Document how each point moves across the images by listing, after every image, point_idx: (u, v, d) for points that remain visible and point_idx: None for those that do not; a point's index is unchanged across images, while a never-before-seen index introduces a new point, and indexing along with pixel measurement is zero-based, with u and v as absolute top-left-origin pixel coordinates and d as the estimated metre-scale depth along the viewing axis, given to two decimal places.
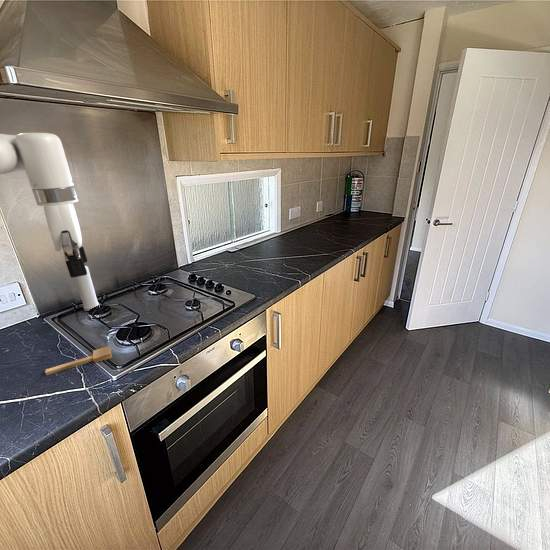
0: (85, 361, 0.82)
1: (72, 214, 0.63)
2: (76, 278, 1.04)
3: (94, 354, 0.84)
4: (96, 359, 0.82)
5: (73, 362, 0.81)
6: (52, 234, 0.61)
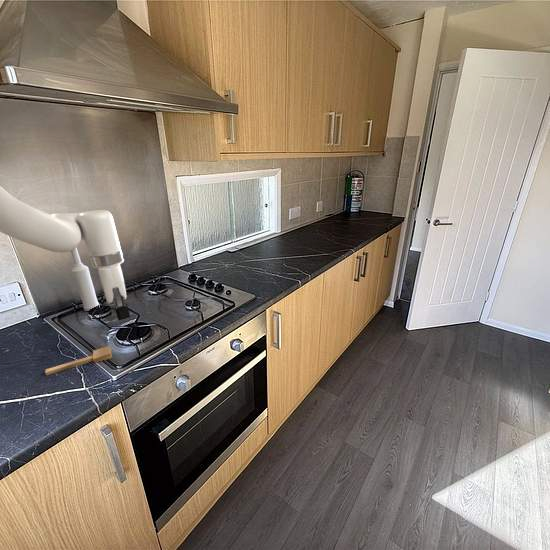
0: (85, 361, 0.82)
1: (120, 273, 0.77)
2: (76, 278, 1.04)
3: (94, 354, 0.84)
4: (96, 359, 0.82)
5: (73, 362, 0.81)
6: (105, 291, 0.75)
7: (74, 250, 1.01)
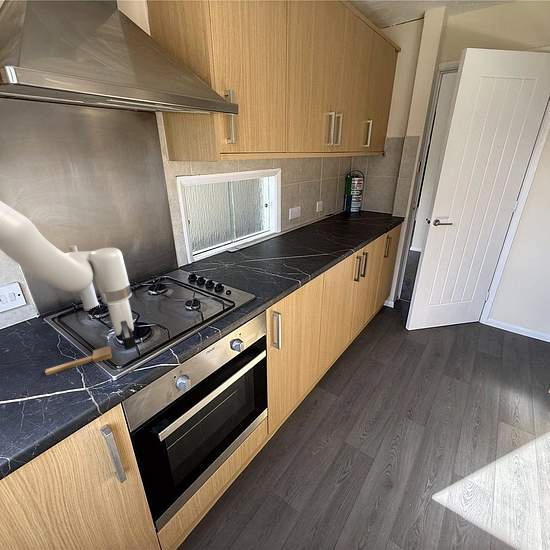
0: (85, 361, 0.82)
1: (128, 307, 0.81)
2: None
3: (94, 354, 0.84)
4: (96, 359, 0.82)
5: (73, 362, 0.81)
6: (114, 324, 0.79)
7: (74, 250, 1.01)
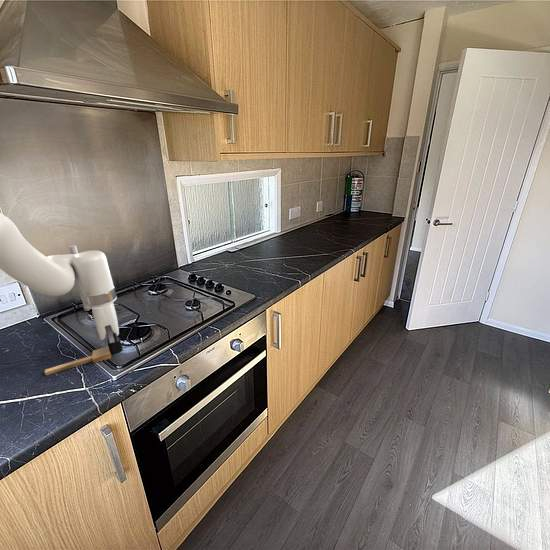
0: (84, 361, 0.82)
1: (113, 311, 0.79)
2: None
3: (93, 354, 0.83)
4: (95, 359, 0.82)
5: (72, 362, 0.81)
6: (98, 329, 0.77)
7: (74, 250, 1.01)
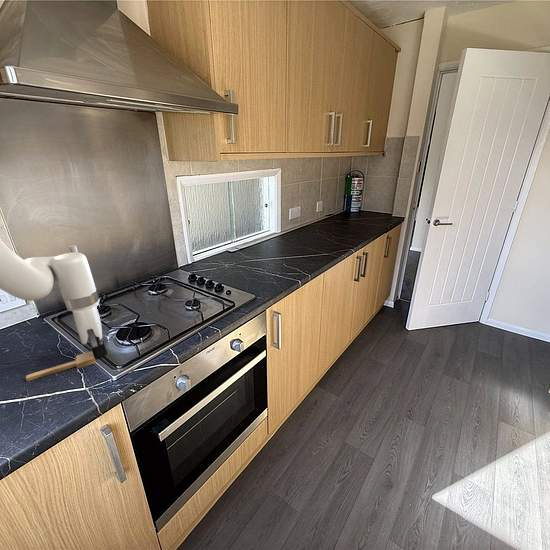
0: (68, 366, 0.80)
1: (95, 314, 0.77)
2: None
3: (77, 359, 0.82)
4: (79, 364, 0.80)
5: (55, 367, 0.80)
6: (79, 333, 0.75)
7: (74, 250, 1.01)
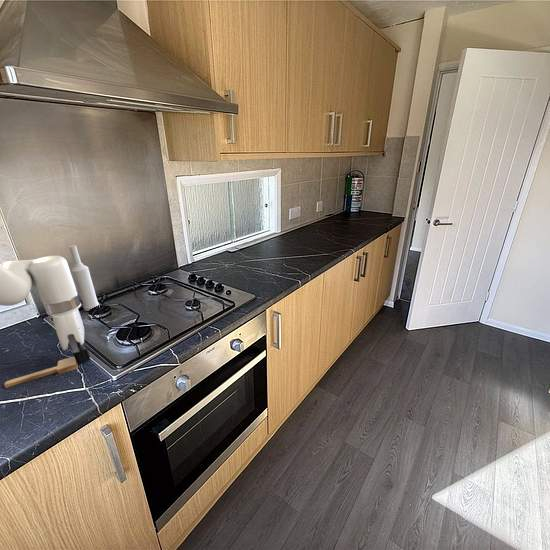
0: (48, 372, 0.78)
1: (76, 319, 0.75)
2: (76, 278, 1.04)
3: (58, 365, 0.80)
4: (60, 370, 0.78)
5: (35, 373, 0.78)
6: (59, 338, 0.73)
7: (74, 250, 1.01)
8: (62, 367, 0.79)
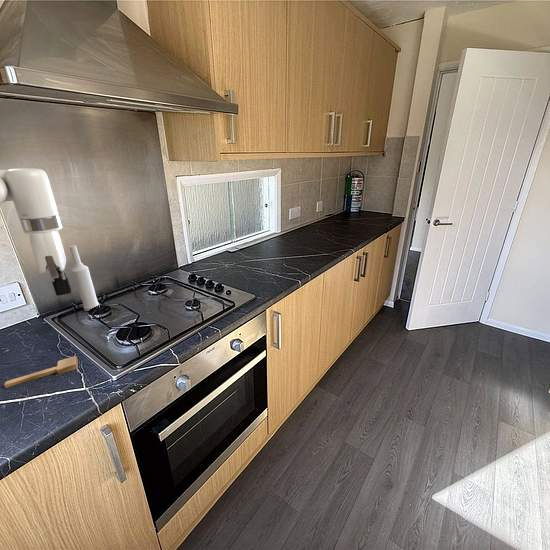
0: (48, 372, 0.78)
1: (56, 241, 0.69)
2: (76, 278, 1.04)
3: (58, 365, 0.80)
4: (60, 370, 0.78)
5: (35, 373, 0.78)
6: (36, 259, 0.67)
7: (74, 250, 1.01)
8: (62, 367, 0.79)
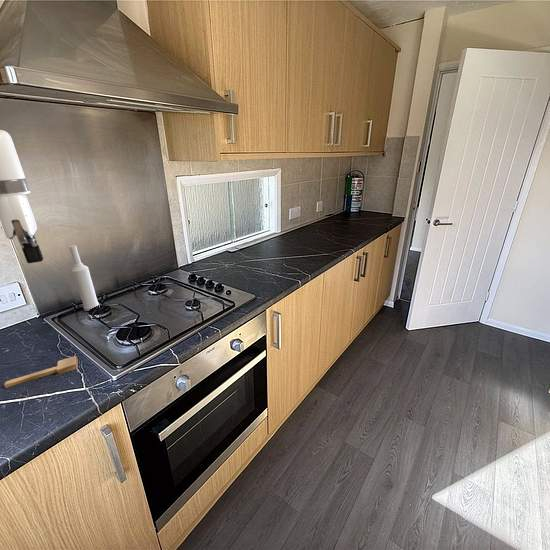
0: (48, 372, 0.78)
1: (22, 205, 0.68)
2: (76, 278, 1.04)
3: (58, 365, 0.80)
4: (60, 370, 0.78)
5: (35, 373, 0.78)
6: (2, 223, 0.66)
7: (74, 250, 1.01)
8: (62, 367, 0.79)
